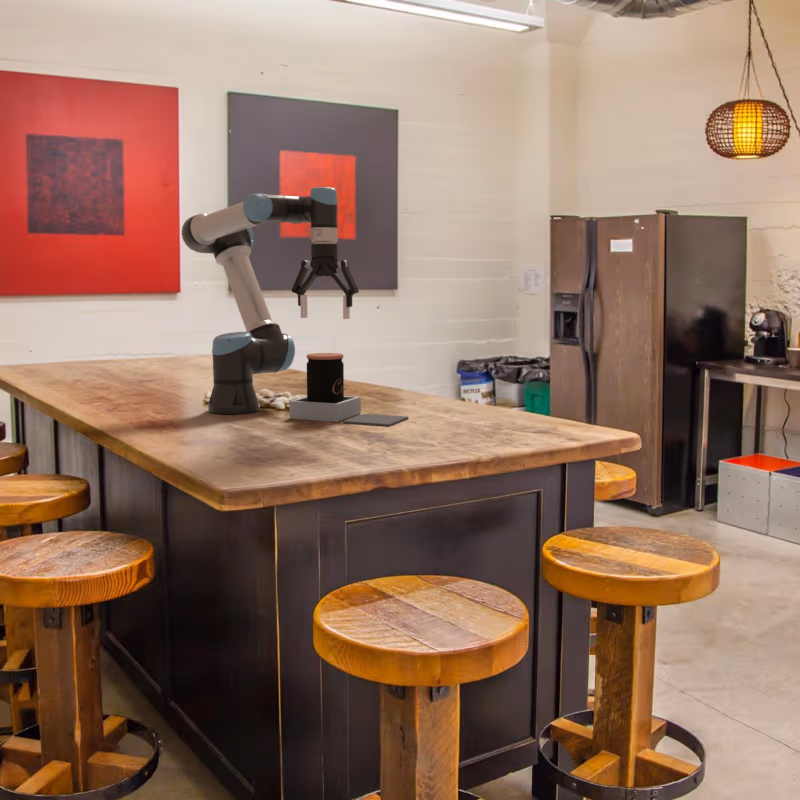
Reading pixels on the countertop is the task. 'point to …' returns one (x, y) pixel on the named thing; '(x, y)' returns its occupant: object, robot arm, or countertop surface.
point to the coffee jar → (325, 378)
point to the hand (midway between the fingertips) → (325, 318)
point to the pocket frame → (325, 409)
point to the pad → (375, 419)
